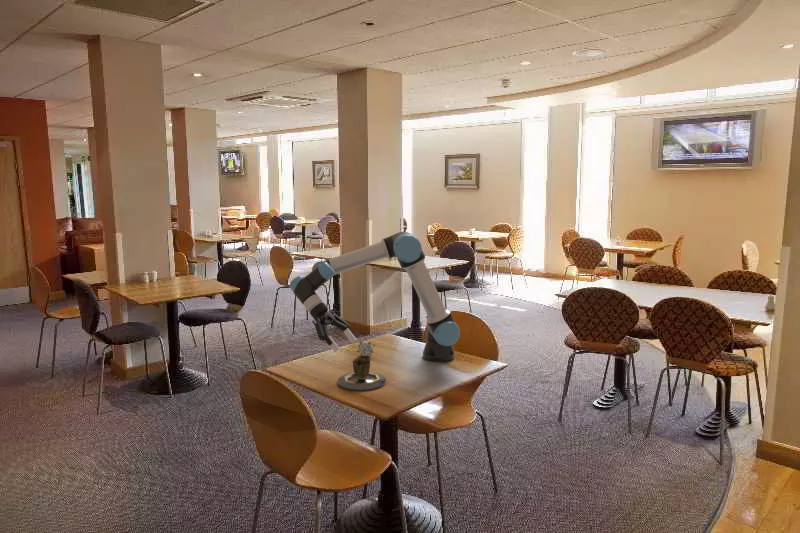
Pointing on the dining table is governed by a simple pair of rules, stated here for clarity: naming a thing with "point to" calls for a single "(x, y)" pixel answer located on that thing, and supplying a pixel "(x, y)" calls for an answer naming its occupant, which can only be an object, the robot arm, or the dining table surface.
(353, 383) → the carrier plate
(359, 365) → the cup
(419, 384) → the dining table surface
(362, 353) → the game die
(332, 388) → the dining table surface
